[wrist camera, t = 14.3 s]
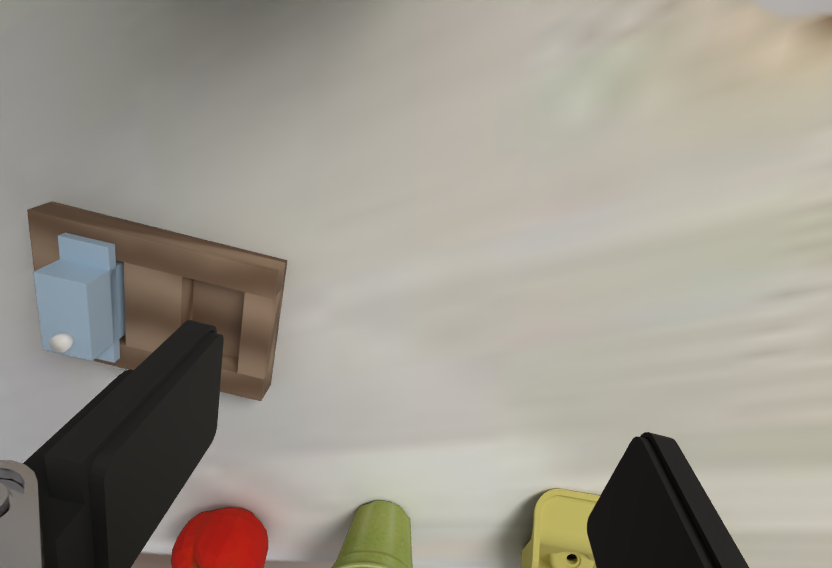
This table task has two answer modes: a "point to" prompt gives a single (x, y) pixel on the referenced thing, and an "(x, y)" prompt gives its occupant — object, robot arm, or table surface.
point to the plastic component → (560, 531)
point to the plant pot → (377, 538)
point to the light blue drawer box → (82, 300)
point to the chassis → (180, 290)
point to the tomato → (221, 541)
